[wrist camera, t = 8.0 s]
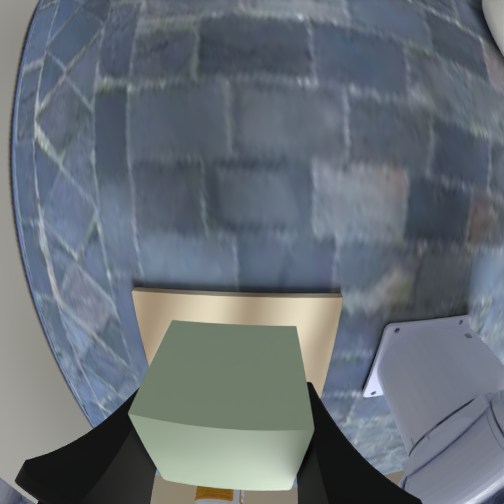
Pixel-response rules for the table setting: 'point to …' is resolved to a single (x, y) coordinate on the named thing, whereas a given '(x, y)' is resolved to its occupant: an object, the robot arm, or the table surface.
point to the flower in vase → (495, 20)
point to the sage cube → (226, 406)
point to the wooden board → (246, 318)
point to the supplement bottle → (218, 496)
